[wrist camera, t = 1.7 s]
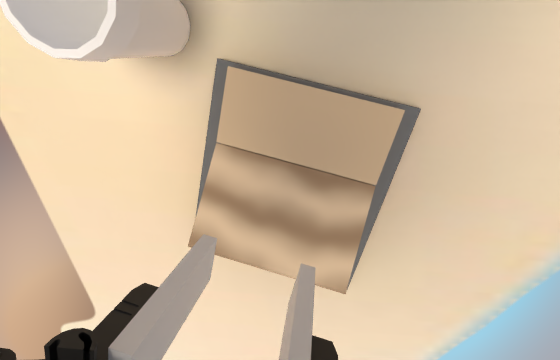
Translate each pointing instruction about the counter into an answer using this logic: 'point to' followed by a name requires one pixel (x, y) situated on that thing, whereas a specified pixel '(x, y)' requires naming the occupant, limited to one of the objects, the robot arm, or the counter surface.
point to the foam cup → (101, 27)
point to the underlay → (309, 128)
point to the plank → (282, 216)
